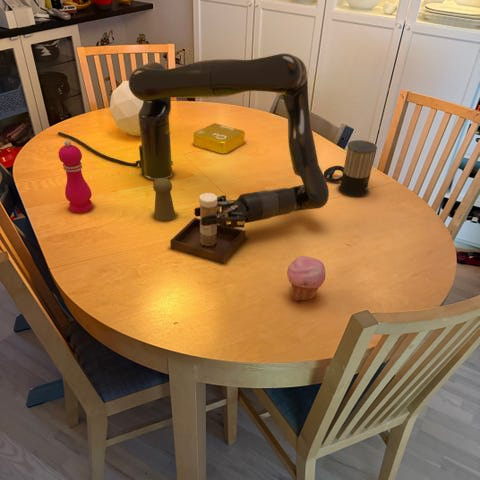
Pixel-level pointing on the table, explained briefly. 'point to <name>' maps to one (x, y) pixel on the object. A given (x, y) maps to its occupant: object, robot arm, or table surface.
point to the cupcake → (305, 277)
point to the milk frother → (355, 168)
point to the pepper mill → (75, 179)
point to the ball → (125, 109)
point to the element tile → (219, 138)
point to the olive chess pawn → (163, 200)
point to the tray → (219, 252)
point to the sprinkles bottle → (207, 209)
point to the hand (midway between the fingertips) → (198, 217)
